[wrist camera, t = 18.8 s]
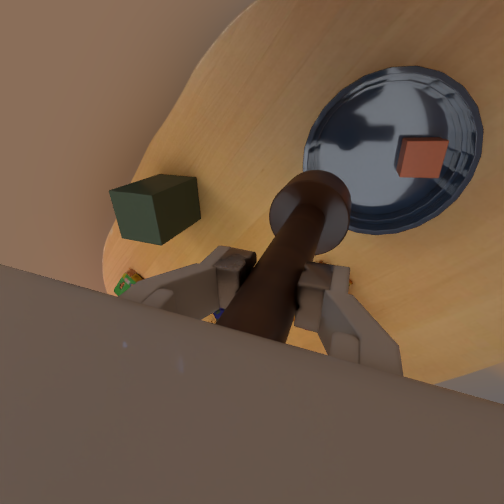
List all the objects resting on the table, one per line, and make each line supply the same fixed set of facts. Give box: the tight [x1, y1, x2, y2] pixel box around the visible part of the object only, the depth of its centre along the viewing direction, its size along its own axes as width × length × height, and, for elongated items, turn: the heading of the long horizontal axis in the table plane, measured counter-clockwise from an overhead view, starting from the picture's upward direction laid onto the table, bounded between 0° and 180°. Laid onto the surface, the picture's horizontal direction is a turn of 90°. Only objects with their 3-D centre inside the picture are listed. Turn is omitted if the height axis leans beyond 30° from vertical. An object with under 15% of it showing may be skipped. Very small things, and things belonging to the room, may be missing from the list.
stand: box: [109, 174, 201, 245], centre depth 45 cm, size 8×8×12 cm
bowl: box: [303, 66, 484, 235], centre depth 32 cm, size 18×18×6 cm
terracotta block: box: [396, 137, 449, 178], centre depth 31 cm, size 4×4×4 cm
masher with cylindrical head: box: [216, 170, 351, 343], centre depth 12 cm, size 5×5×14 cm
